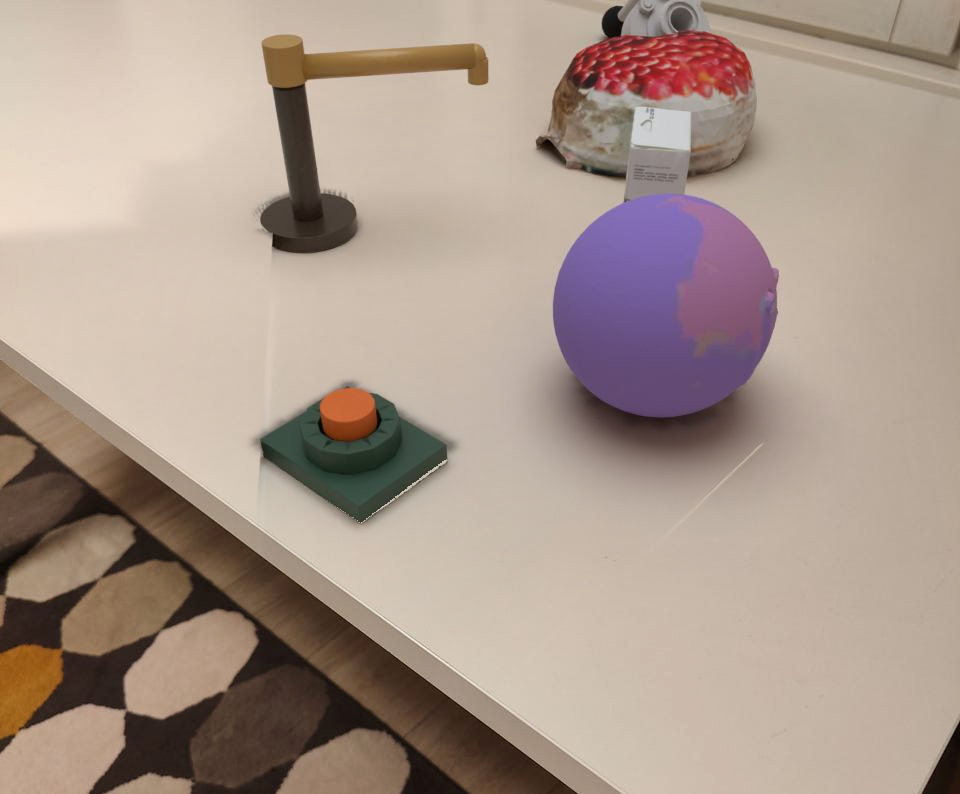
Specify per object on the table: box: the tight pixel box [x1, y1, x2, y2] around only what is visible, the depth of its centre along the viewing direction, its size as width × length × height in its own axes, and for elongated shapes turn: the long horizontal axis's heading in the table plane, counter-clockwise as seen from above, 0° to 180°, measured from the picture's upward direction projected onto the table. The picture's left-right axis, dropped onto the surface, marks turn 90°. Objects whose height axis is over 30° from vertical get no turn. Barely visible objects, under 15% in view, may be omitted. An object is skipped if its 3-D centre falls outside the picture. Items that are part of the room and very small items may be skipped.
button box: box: [259, 385, 448, 524], centre depth 64 cm, size 10×8×4 cm
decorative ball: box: [552, 194, 780, 418], centre depth 65 cm, size 15×15×15 cm
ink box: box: [623, 107, 691, 203], centre depth 81 cm, size 8×5×12 cm, turn 170°
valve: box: [601, 0, 711, 39], centre depth 119 cm, size 10×20×15 cm
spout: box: [261, 34, 489, 88], centre depth 80 cm, size 19×3×4 cm, turn 98°
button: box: [320, 387, 377, 442], centre depth 62 cm, size 4×4×2 cm
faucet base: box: [259, 82, 359, 254], centre depth 85 cm, size 9×9×14 cm
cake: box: [535, 30, 758, 179], centre depth 101 cm, size 23×24×10 cm
